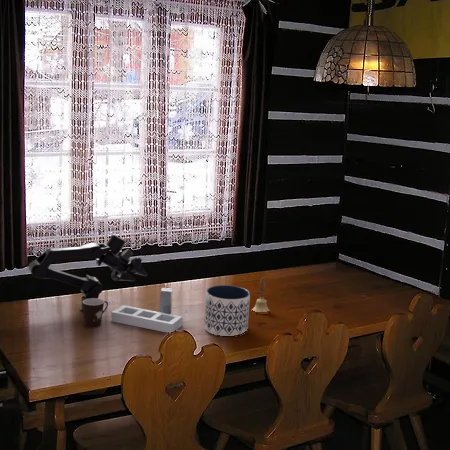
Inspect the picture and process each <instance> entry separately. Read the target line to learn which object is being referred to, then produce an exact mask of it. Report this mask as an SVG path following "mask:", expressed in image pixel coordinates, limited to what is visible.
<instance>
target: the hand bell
mask: <svg viewBox="0 0 450 450" xmlns="http://www.w3.org/2000/svg"><path fill="white" fill-rule="evenodd" d="M265 279H266V278H265V277H261V279H260V280H259V290H260V294H259V298H257V299H256V302H255V305H254V307H253V308H252V309H251V311H252V310H253V311H255V312H267V311H270V309H269V307H268V304H267V302H268V301H267V300H266V299H265V297H264V296H265V295H264V294H265V289H266V280H265Z"/></svg>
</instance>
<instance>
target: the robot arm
mask: <svg viewBox="0 0 450 450" xmlns="http://www.w3.org/2000/svg"><path fill="white" fill-rule="evenodd" d="M126 242H127V241H125V240H124V239H123V238H121V237H119V236H118V235H115V234H111V236H110V237H109V239H108V241H107V242H106V243H105V242H103V243H102V242H101V243H97V242H89V243H85V244H84V245H81V246H71V247H58V248H57V247H56V248H51V247H50V248H47V249H46V250H45V251H44V252H43V253H42V254H40V255H39V256H38V257H37V258H36V259H35V260H32V261H31V262H30V263H29V264H28V270H29V273H31V276H32V277H33V278H36V279H43V280H45V279H50V280H51V279H52V280H54V281H58V282H61V283H64V284H68V285H71V286H74V287H77V288H80V293H81V294H82V295H83V296H81V307H80V308H79V310H80V311H81V312H83V313H84V309H83V301H84V300H85V299H90V298H97V299H99V296H100V294H101V293H102V291H103V290H104V288H103V284H102V283H101V282H100V281H99V279H98V278H97V277H95V276H91V275H89V274H86V277H81V276H77V275H74V274H70V273H68V272H64V271H61V270H58V269H55V268H52V267H50V266H51V265H52V263H53V262H54V260H57V259H72V258H86V259H93V260H95V261H96V262H95V263H96V265H97V266H99V267H101V265H102V264H104V265H105V266H107V267H109V268H110V269H109V270H110V271H111V274H110V278H111V280H113V281H115V282H116V281H123V282H124V281H125V282H126V281H127V282H135V281H136V278H135V277H133V275H131V274H130V273H128V272H127V271H130V272H131V273H133V274H134V275H138V276H143V277H148V275H149V274H148V273H147V271H146V270H145V269H144V267H143V266H142V261H143V259H142V258H140V256H137V257H135V258H132V259H131V260H130V258H131V257H132V256H133V255H134V253H133V252H132V251H131V249H130V248H127V249H125V250H123V251H122V252H121V250H122V248H124V246H125V244H126Z"/></svg>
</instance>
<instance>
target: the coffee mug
mask: <svg viewBox="0 0 450 450" xmlns="http://www.w3.org/2000/svg"><path fill="white" fill-rule="evenodd" d="M105 304H106V307H105ZM104 307H105V308H104ZM108 307H109V303H108V301H105V300H103V299H101V298H98V299H97V298H90V299H85V300H84V301H83V309H84V312H83V316H84V317H83V318H84V326H85V327H87V328H92V329H93V328H99V327H101V325H102V319H103V315H104V313H105V312H106V311H107V309H108Z"/></svg>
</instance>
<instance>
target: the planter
mask: <svg viewBox="0 0 450 450" xmlns="http://www.w3.org/2000/svg"><path fill="white" fill-rule="evenodd" d="M250 298H251V292H250V291H249V290H248V289H246V288H244V287H240V286H237V285H235V286H234V285H227V284H225V285H224V284H223V285H222V284H221V285H213V286H211V287H208V288H207V289H206V292H205V302H204V303H205V307H204V323H203V328H204V330H205V331H206V332H207V333H208V334H211V335H213V334H214V336H217V335H220V336H219V337H222V336H234V335H238V334H242V333H244V332H245V331H247V332H248V330H247V329H249V316H250V303H251V301H250V300H251V299H250ZM244 334H245V333H244ZM242 335H243V334H242Z"/></svg>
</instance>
